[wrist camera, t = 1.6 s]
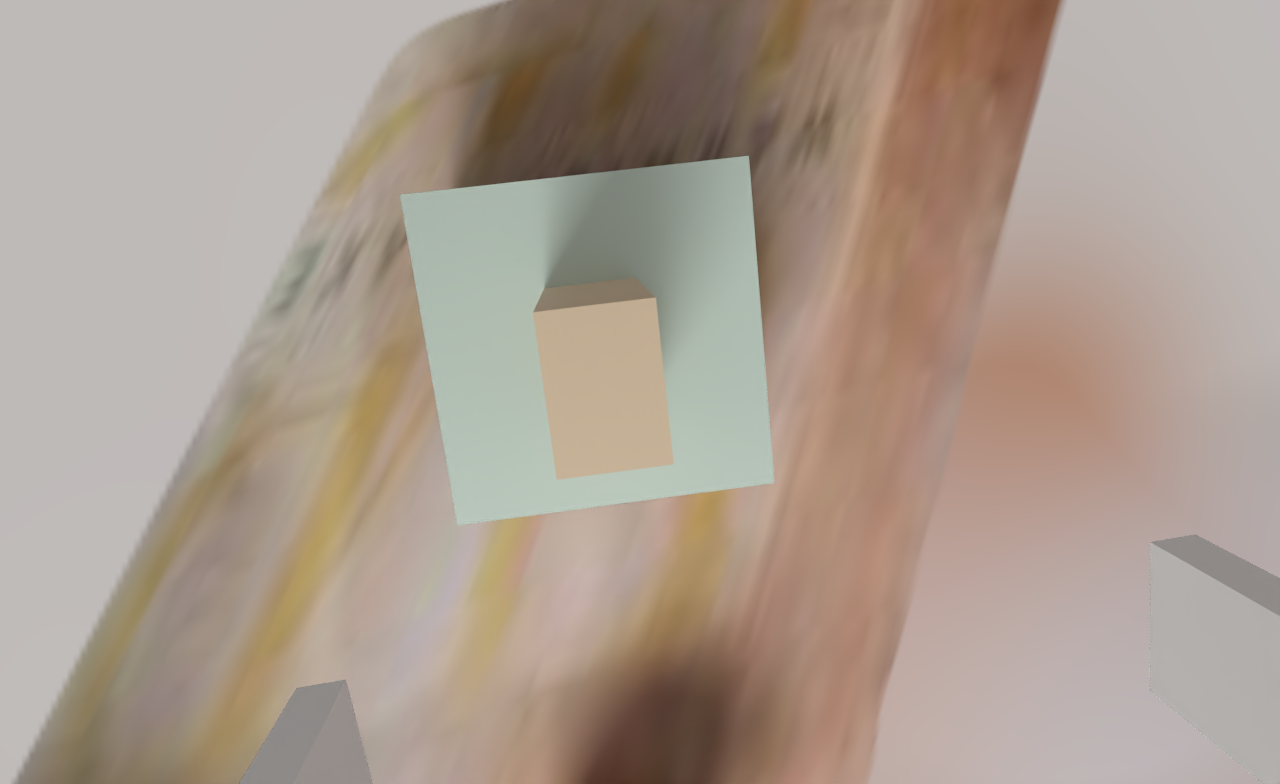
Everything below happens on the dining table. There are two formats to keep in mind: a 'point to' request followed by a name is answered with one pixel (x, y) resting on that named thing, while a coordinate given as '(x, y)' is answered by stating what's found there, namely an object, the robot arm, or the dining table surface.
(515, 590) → the dining table surface
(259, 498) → the dining table surface
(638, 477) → the lid
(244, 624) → the dining table surface
